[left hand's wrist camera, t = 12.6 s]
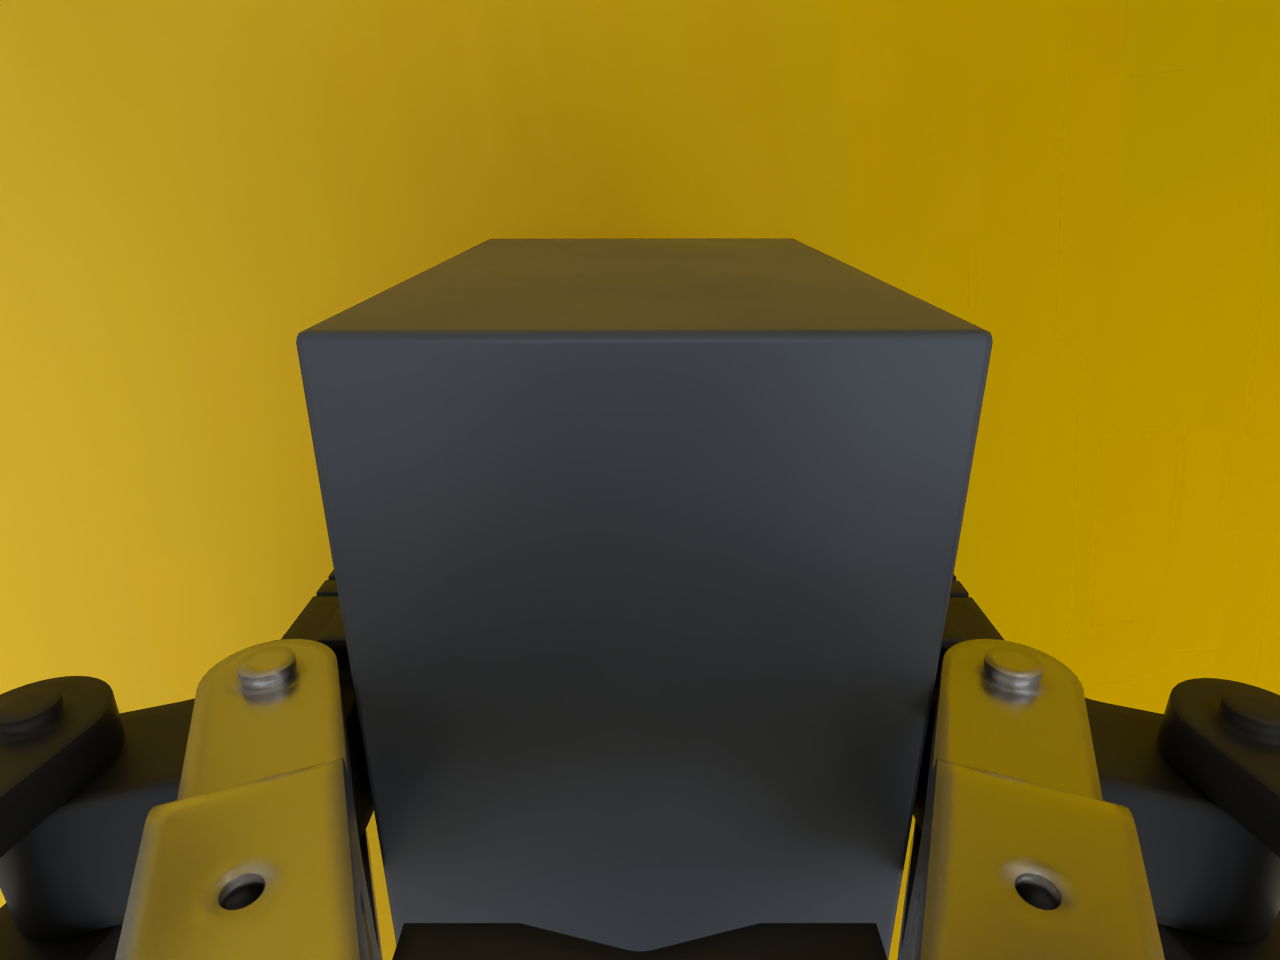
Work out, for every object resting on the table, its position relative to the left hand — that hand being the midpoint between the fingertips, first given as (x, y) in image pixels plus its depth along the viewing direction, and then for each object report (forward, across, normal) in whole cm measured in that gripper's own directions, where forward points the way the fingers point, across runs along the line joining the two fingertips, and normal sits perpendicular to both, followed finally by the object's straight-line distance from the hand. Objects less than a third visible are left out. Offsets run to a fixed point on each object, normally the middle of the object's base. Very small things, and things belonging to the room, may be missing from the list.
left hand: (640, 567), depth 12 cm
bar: (+4, 0, +10) cm, 10 cm away
